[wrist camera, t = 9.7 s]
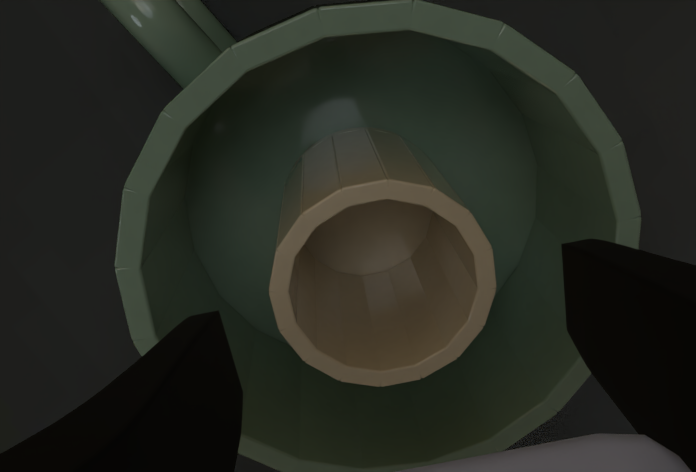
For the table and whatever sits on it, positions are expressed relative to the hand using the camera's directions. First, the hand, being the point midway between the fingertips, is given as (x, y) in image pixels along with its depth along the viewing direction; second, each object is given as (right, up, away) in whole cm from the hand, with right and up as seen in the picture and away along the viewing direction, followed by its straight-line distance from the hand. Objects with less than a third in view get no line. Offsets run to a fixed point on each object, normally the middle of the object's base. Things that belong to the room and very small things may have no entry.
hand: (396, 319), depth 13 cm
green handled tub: (-2, +4, +7) cm, 8 cm away
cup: (-1, +3, +7) cm, 7 cm away
